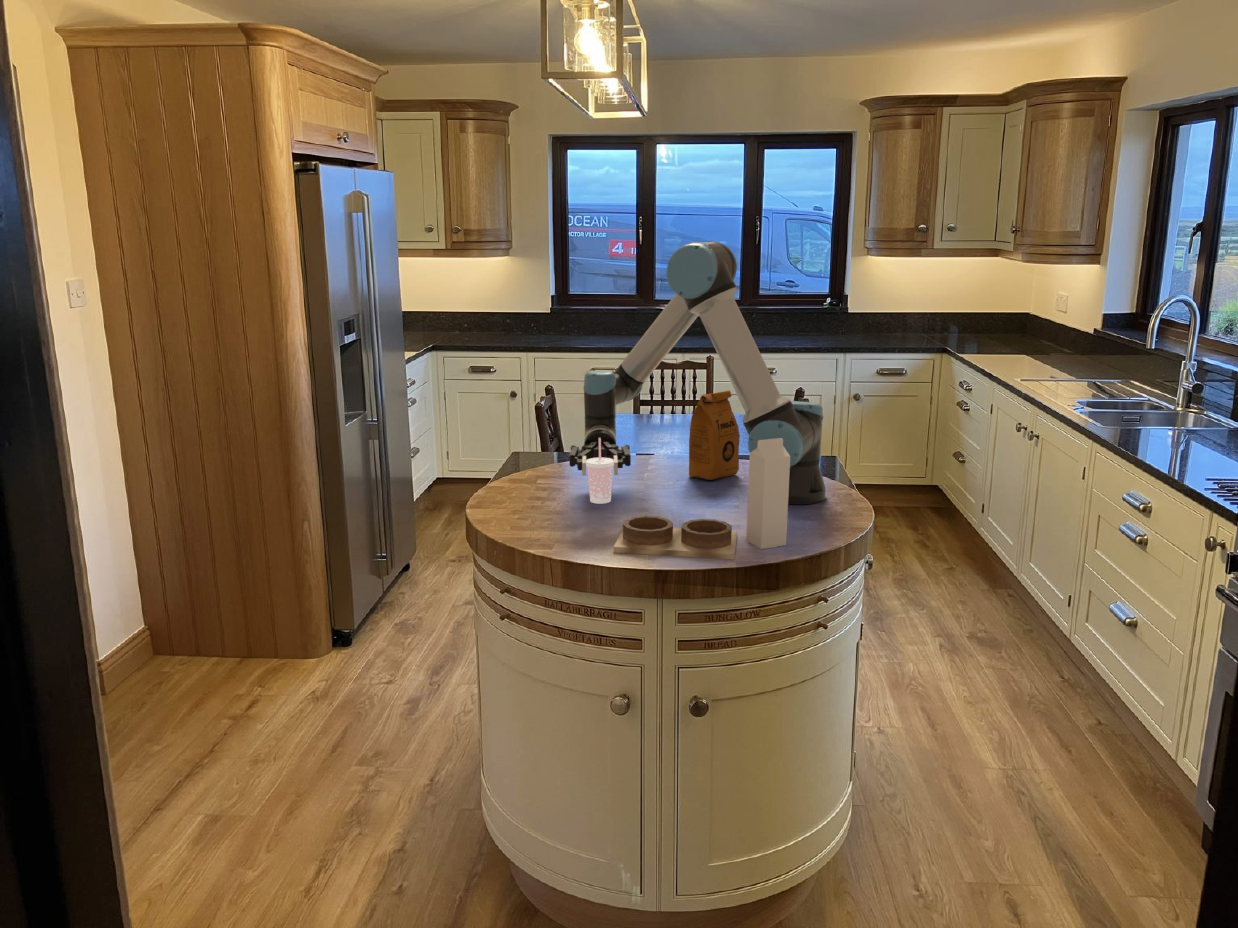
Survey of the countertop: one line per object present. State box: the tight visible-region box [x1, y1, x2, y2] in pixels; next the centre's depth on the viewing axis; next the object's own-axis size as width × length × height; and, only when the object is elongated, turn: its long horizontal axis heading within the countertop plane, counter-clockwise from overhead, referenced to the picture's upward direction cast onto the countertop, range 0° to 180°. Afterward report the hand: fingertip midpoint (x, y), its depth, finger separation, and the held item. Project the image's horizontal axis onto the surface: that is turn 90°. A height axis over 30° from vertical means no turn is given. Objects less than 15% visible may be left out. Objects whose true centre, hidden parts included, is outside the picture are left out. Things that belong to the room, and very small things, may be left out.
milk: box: [745, 438, 790, 550], centre depth 199 cm, size 6×6×22 cm
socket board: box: [613, 515, 738, 560], centre depth 200 cm, size 24×14×4 cm, turn 81°
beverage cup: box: [586, 438, 614, 505], centre depth 212 cm, size 6×6×14 cm
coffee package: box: [688, 389, 741, 481], centre depth 250 cm, size 10×12×22 cm
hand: (599, 469), depth 207 cm, fingers closed on beverage cup, 6 cm apart
